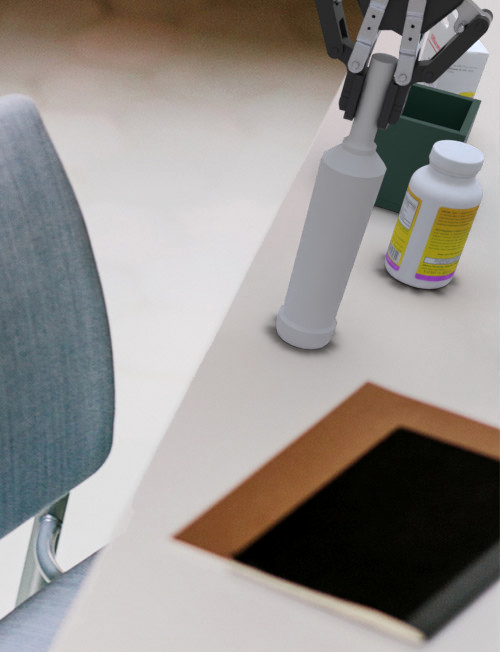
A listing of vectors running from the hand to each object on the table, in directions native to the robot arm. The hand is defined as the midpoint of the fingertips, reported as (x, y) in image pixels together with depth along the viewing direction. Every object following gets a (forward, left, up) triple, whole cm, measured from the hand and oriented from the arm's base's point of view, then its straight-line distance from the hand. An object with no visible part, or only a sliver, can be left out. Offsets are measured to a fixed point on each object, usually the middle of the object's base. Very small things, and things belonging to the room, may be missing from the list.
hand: (366, 120), depth 92 cm
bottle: (0, 0, -20) cm, 20 cm away
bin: (-2, -34, -20) cm, 40 cm away
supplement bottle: (-7, -17, -20) cm, 27 cm away
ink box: (-2, -51, -20) cm, 55 cm away
